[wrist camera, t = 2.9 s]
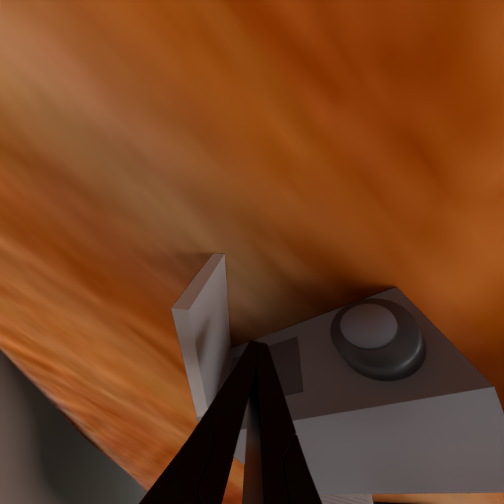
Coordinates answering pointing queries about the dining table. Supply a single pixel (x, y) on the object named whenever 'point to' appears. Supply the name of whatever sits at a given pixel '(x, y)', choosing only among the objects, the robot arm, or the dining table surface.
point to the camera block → (385, 402)
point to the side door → (204, 331)
